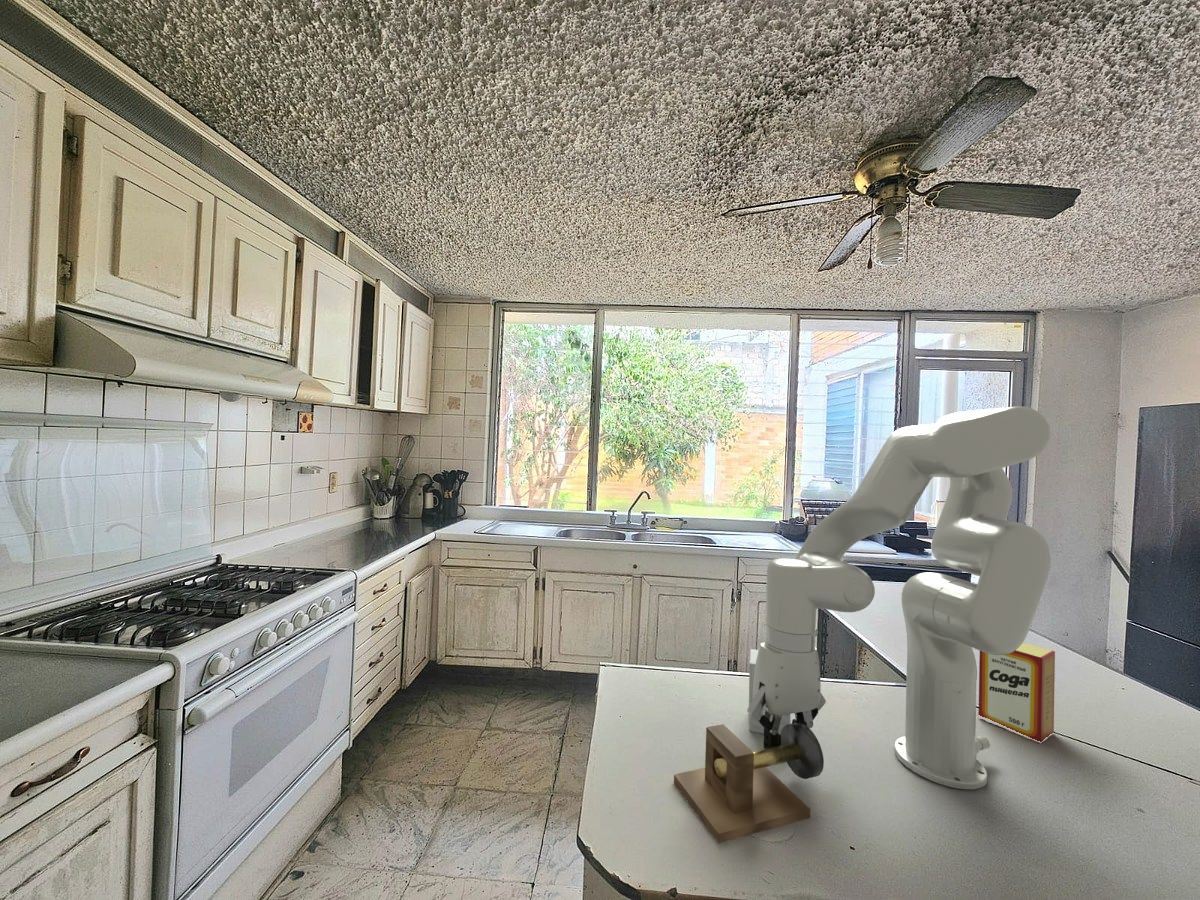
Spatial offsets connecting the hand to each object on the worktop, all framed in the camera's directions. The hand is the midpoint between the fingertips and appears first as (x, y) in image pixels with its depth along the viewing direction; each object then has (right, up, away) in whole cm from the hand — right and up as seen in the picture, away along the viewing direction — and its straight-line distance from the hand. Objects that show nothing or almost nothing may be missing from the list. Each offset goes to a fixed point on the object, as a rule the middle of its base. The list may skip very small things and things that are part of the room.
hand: (786, 750), depth 75 cm
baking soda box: (+51, -6, +16) cm, 54 cm away
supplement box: (+2, -4, +14) cm, 15 cm away
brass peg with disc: (-5, -2, -5) cm, 7 cm away
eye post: (-9, -3, -6) cm, 11 cm away
